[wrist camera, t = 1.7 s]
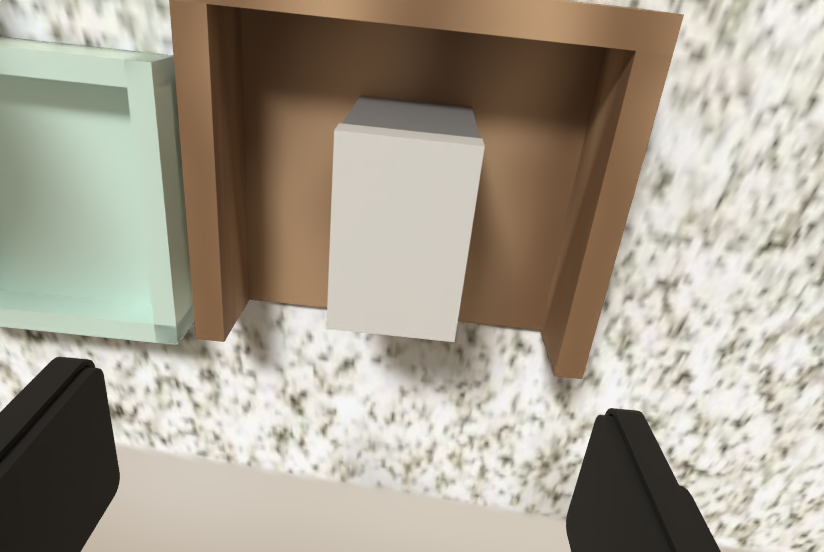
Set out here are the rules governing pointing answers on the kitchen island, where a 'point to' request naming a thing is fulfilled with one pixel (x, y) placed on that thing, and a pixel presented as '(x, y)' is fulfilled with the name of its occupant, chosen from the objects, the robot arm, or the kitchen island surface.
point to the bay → (425, 82)
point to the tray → (92, 193)
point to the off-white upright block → (402, 217)
